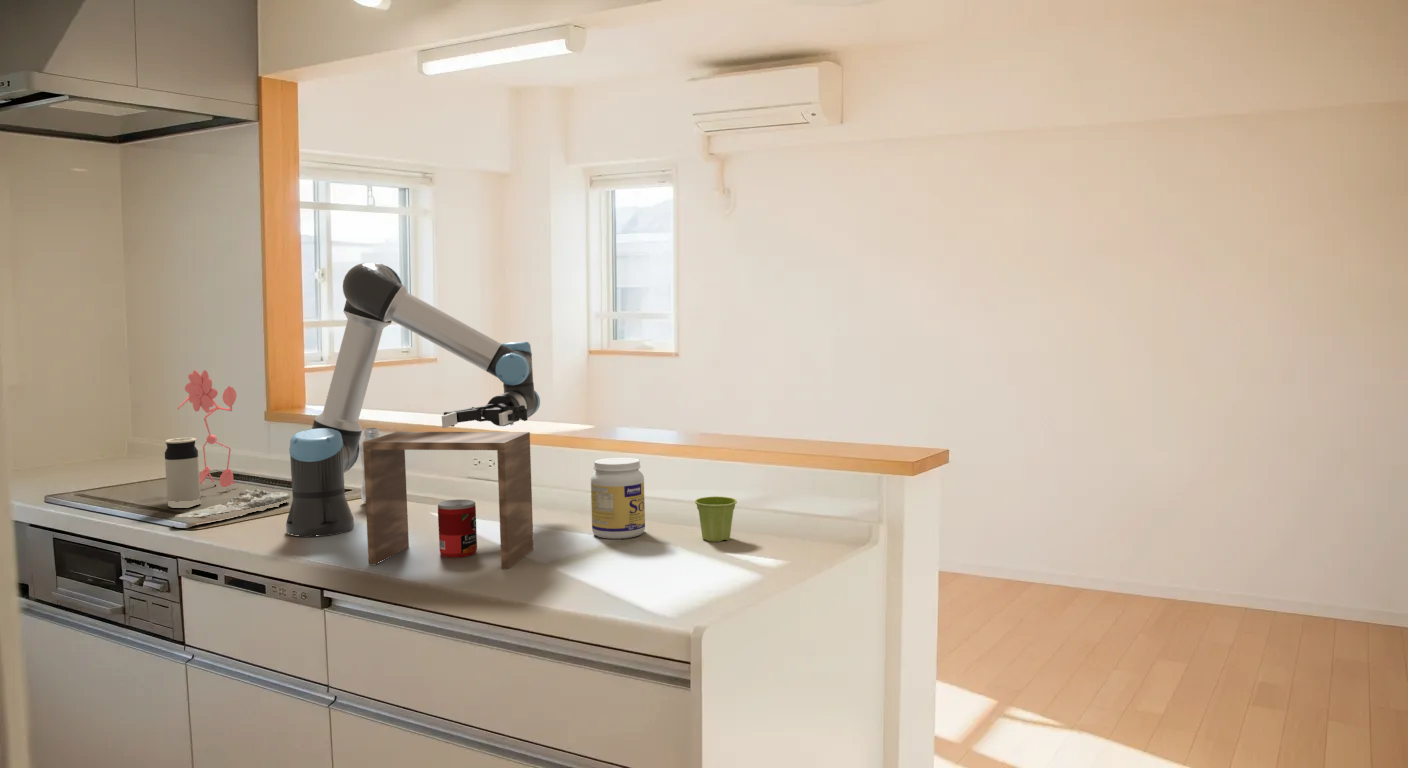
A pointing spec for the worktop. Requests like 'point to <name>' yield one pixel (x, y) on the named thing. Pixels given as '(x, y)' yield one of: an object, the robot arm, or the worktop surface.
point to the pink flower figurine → (203, 397)
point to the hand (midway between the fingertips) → (472, 420)
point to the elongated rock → (240, 503)
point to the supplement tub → (617, 498)
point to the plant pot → (716, 517)
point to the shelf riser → (389, 450)
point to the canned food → (457, 528)
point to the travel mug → (182, 470)
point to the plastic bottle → (369, 435)
